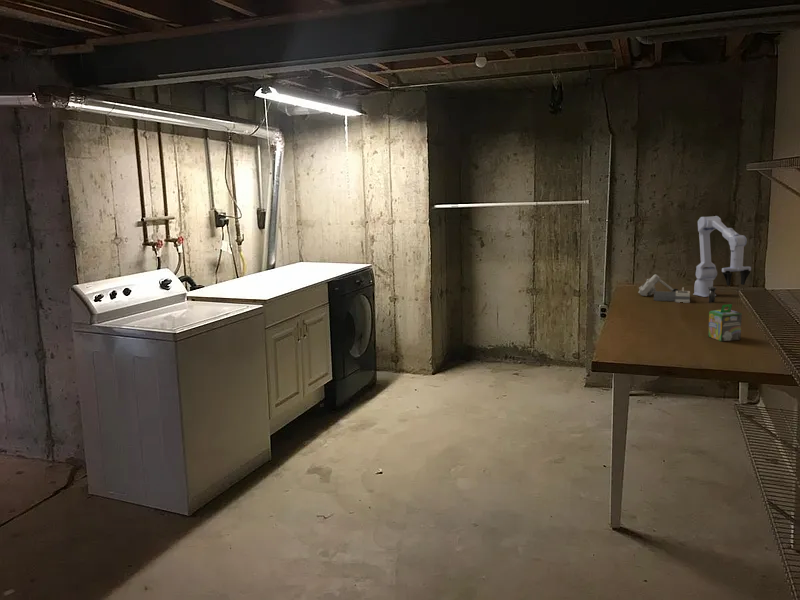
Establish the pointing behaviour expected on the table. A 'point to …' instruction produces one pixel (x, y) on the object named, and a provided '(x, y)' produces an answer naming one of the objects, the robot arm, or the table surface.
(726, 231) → the robot arm
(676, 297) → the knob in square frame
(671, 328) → the table surface
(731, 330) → the chalk box
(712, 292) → the round dark gray knob
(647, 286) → the mechanical valve
